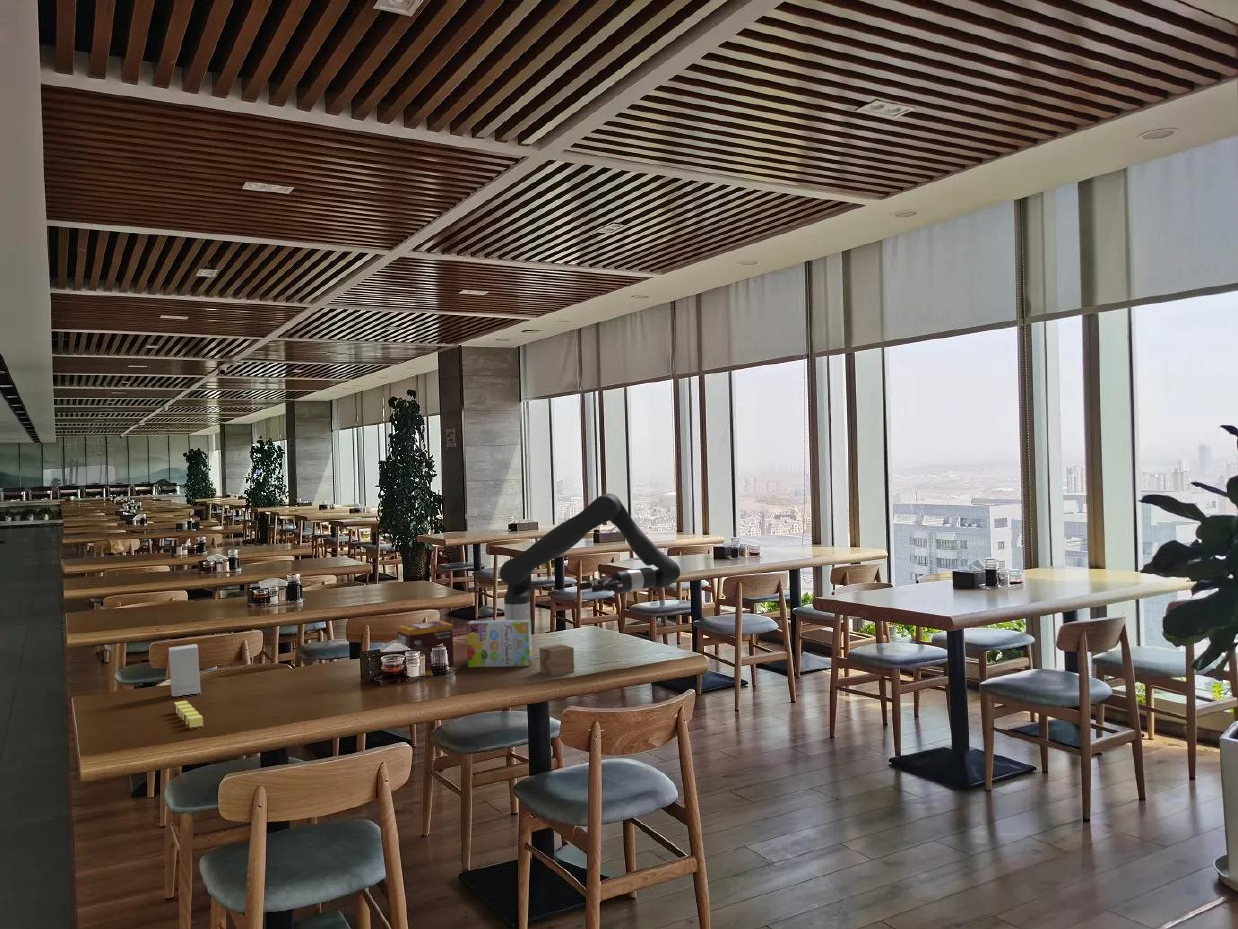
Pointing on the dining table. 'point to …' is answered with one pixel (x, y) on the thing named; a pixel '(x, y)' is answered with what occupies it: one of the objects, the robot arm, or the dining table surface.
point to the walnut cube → (556, 660)
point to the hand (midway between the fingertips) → (585, 588)
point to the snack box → (499, 643)
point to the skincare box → (184, 670)
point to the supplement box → (428, 639)
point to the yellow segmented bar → (188, 714)
